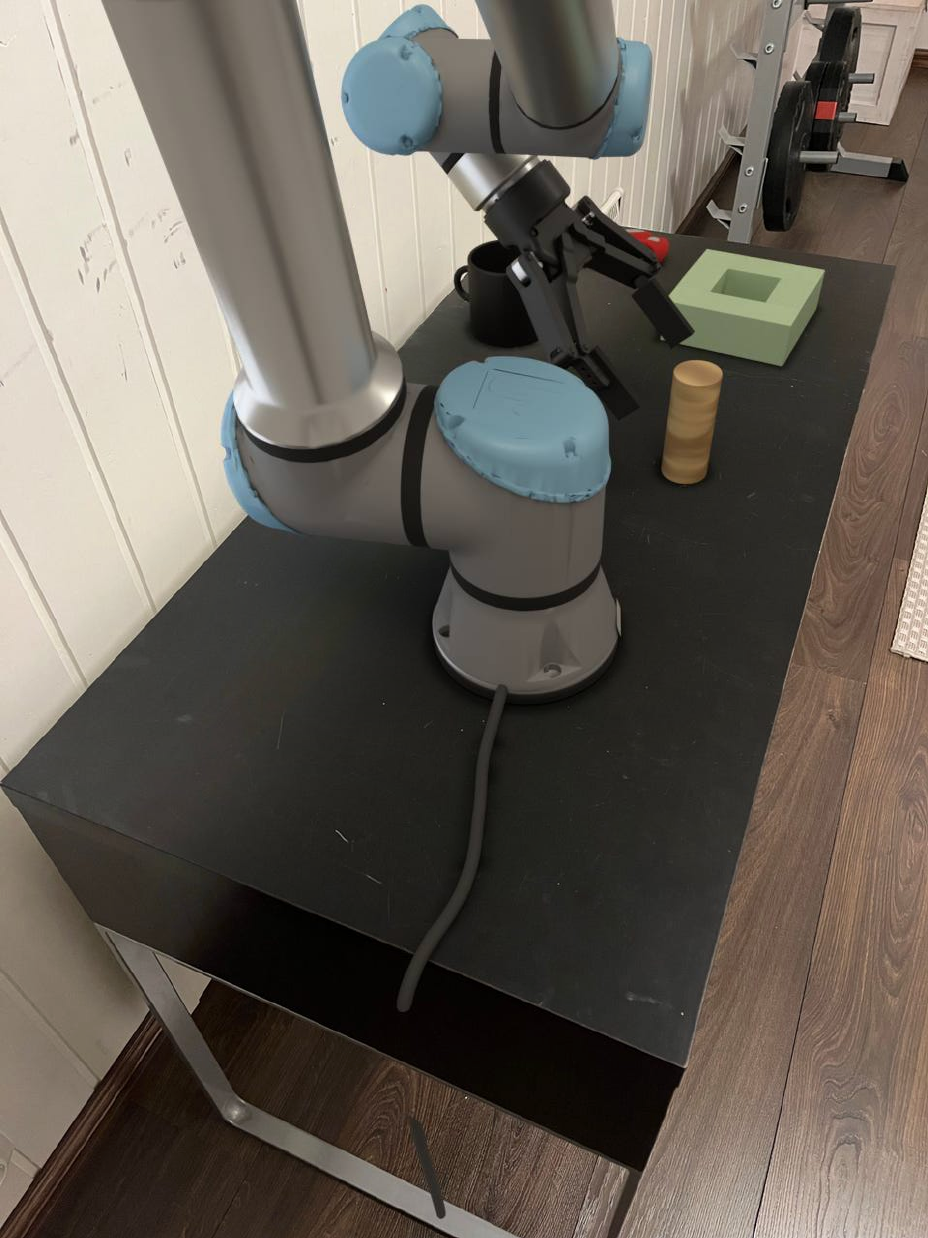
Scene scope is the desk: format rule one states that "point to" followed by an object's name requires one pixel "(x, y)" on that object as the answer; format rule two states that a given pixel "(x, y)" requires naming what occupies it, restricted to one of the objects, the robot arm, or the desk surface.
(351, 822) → the desk surface
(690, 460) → the tan cylinder
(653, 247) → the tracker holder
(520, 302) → the mug
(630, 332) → the desk surface
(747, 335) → the holder
